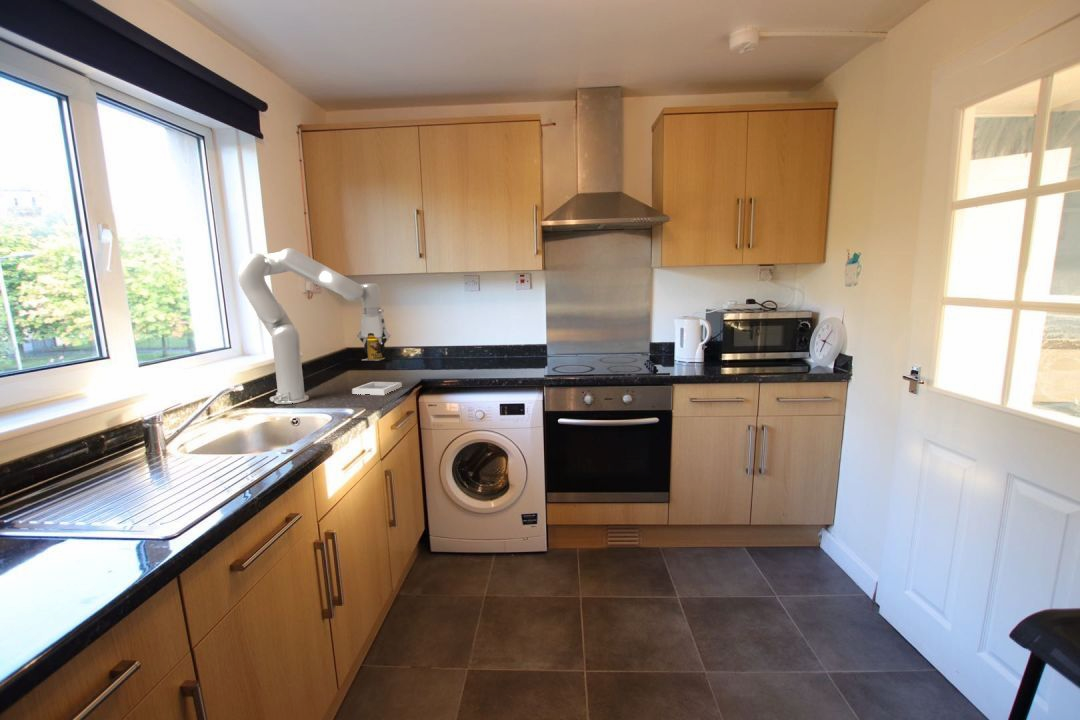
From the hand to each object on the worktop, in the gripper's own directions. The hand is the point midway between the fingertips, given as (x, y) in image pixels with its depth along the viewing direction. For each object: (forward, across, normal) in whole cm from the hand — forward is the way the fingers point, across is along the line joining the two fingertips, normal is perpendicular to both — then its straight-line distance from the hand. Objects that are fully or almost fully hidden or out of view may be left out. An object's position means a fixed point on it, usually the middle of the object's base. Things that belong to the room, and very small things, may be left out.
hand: (374, 352), depth 204 cm
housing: (+17, 0, 0) cm, 17 cm away
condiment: (+3, +1, 0) cm, 3 cm away
